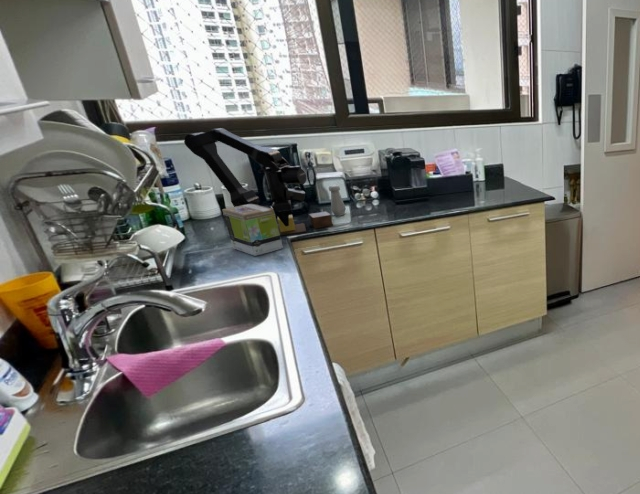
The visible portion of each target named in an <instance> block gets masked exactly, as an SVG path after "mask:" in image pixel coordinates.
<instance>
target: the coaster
mask: <svg viewBox="0 0 640 494" xmlns="http://www.w3.org/2000/svg"><path fill="white" fill-rule="evenodd" d="M294 225H295V229H296V230H291V231H284V232H281V231H280V227H279V226H278V230H279V233H280V237H282V236H290V235H297V234H302V233H303V234H304V233H307V228H306V224H305V222H302V223H294Z"/></svg>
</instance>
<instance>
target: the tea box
mask: <svg viewBox="0 0 640 494" xmlns="http://www.w3.org/2000/svg"><path fill="white" fill-rule="evenodd" d="M221 211H222V214H223V218H224V221H225V225H226V228H227V233H228V235H229V239H230V242H231V245H232V248H233V250H238V251H240V252H243V253H246V254H249V255H251V256H254V257H256V256H261V255H264V254H268V253H271V252H275V251H278V250H281V249H283V248H284V247H283V241H282V237H281V236H280V233H279V230H278V227H279V224H278V220H277V218H276V214H275V213H274V210H273V209H272V207H268V206H263V205H260V206H259V205H255V204H247V205H242V206H237V207H234V206H232V207H227V208H223V209H221Z"/></svg>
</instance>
